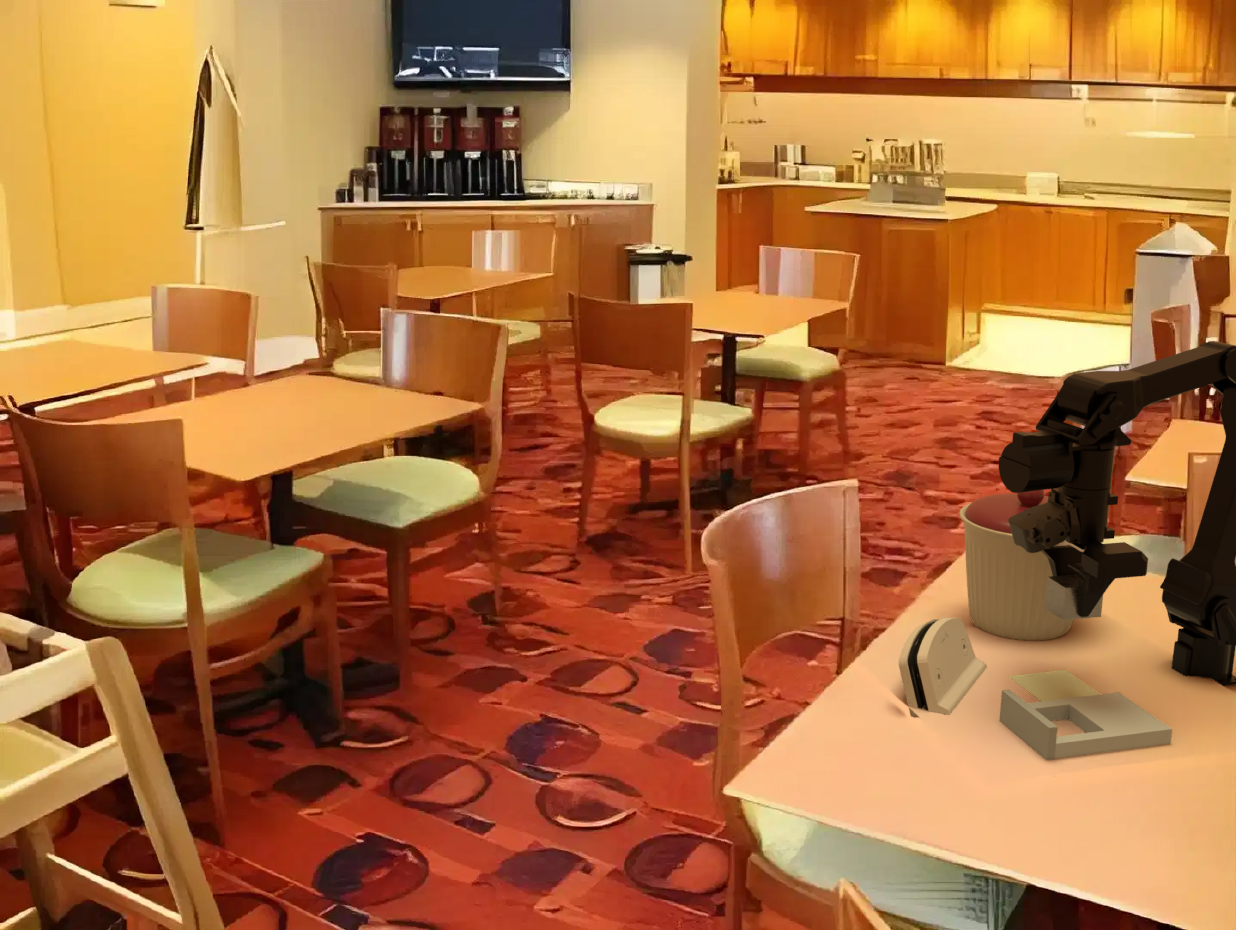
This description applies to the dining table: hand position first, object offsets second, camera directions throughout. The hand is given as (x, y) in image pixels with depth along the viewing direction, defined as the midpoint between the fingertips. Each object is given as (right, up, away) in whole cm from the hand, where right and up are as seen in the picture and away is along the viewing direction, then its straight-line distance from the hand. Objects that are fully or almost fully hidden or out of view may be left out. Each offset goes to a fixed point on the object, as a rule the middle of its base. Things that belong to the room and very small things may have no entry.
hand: (1073, 610), depth 161 cm
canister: (+1, -6, +26) cm, 26 cm away
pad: (-1, -11, +5) cm, 12 cm away
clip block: (0, 0, 0) cm, 0 cm away
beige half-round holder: (-14, -11, +6) cm, 19 cm away
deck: (-1, -14, -7) cm, 16 cm away
